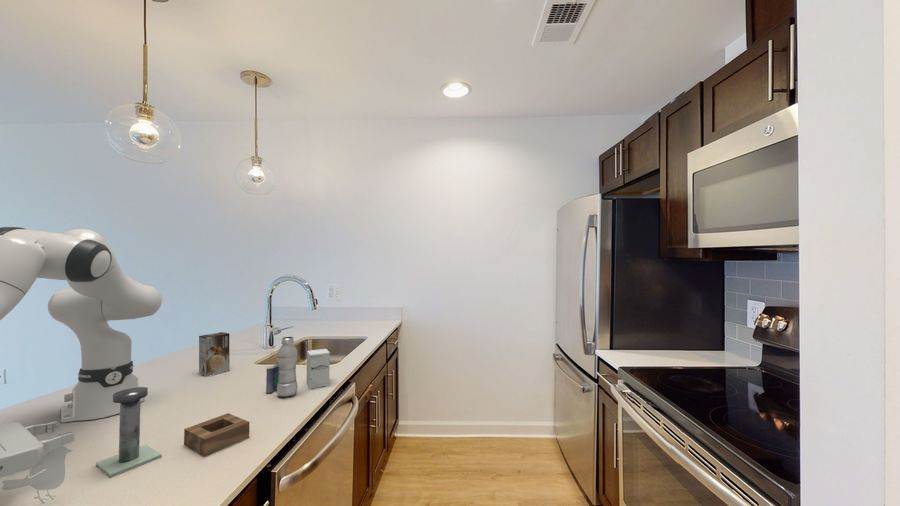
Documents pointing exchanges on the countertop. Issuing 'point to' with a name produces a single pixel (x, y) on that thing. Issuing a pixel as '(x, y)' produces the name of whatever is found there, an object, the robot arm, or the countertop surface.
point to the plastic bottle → (287, 368)
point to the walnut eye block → (216, 434)
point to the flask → (272, 378)
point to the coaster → (115, 467)
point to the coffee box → (213, 353)
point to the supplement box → (318, 368)
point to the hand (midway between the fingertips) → (65, 430)
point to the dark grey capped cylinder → (129, 422)
